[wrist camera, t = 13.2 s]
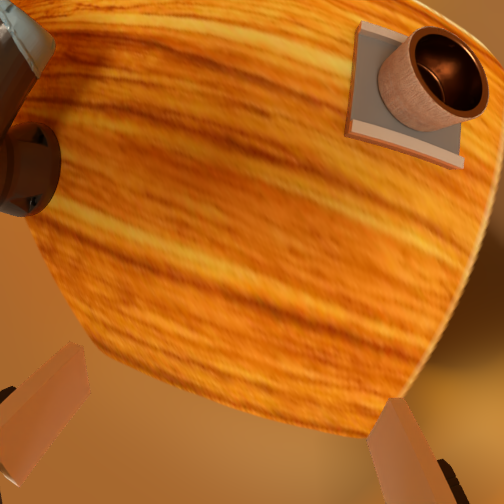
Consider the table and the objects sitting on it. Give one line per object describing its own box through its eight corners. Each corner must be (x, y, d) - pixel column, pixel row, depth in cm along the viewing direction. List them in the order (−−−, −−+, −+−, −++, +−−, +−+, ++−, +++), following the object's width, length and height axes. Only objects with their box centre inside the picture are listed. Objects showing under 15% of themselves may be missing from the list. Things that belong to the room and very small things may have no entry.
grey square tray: (344, 136, 33) (351, 131, 29) (355, 31, 29) (361, 20, 26) (449, 169, 32) (463, 169, 29) (453, 70, 29) (465, 63, 26)
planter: (399, 41, 27) (429, 9, 18) (458, 96, 28) (499, 79, 19) (360, 91, 29) (388, 62, 20) (426, 150, 30) (470, 142, 21)
